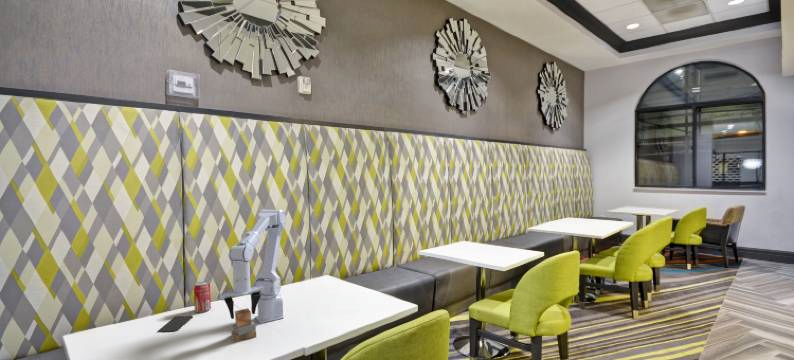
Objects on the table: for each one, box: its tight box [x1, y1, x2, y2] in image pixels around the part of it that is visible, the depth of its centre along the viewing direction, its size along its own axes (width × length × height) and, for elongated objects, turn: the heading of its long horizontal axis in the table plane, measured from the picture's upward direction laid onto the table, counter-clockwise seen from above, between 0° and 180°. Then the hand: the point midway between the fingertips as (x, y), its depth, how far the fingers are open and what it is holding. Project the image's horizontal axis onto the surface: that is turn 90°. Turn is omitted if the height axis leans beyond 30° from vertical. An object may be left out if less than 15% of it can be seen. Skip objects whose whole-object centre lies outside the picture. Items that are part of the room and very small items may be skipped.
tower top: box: [232, 320, 257, 336], centre depth 143 cm, size 6×6×2 cm
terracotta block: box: [234, 308, 252, 327], centre depth 143 cm, size 4×4×4 cm
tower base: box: [231, 329, 257, 343], centre depth 143 cm, size 7×7×2 cm
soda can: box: [193, 281, 212, 314], centre depth 170 cm, size 6×6×12 cm
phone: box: [157, 315, 194, 333], centre depth 156 cm, size 7×1×15 cm
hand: (242, 315), depth 143 cm, fingers open, 7 cm apart
